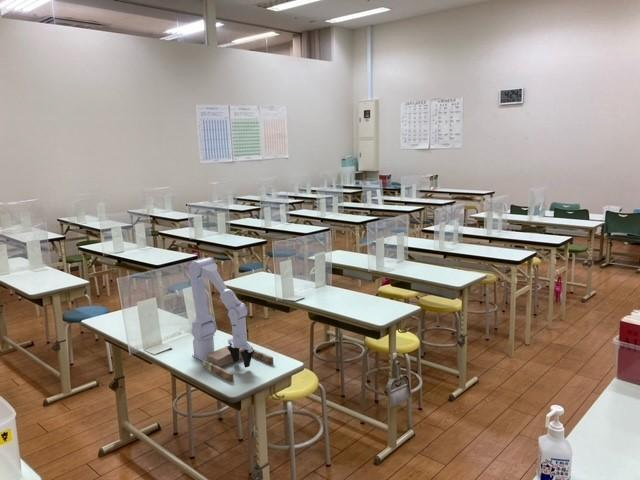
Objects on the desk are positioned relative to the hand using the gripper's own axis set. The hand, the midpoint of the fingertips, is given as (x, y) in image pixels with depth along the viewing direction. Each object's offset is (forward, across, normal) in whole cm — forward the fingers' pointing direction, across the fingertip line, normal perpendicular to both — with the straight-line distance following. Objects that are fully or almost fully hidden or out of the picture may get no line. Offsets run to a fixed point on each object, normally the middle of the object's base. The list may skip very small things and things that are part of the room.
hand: (241, 364), depth 207 cm
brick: (-2, -6, 0) cm, 6 cm away
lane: (+2, -2, 0) cm, 3 cm away
